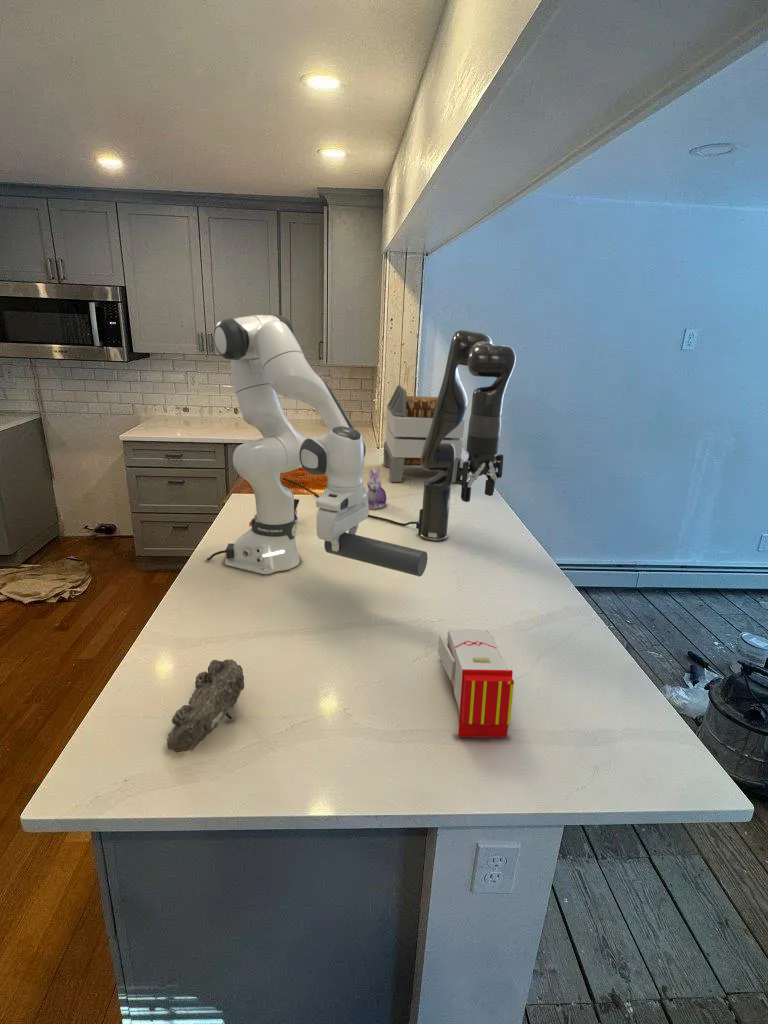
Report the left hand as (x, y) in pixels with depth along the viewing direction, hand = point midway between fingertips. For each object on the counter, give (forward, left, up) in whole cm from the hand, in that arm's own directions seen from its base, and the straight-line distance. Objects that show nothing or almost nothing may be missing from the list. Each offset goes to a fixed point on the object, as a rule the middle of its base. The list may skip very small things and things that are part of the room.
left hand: (343, 545), depth 145 cm
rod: (+9, -2, -3) cm, 9 cm away
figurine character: (-34, +52, -17) cm, 64 cm away
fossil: (-12, -48, -17) cm, 53 cm away
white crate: (+2, +135, -17) cm, 136 cm away
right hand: (+32, +5, +14) cm, 36 cm away
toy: (+35, -28, -17) cm, 48 cm away
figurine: (-8, +80, -17) cm, 83 cm away
